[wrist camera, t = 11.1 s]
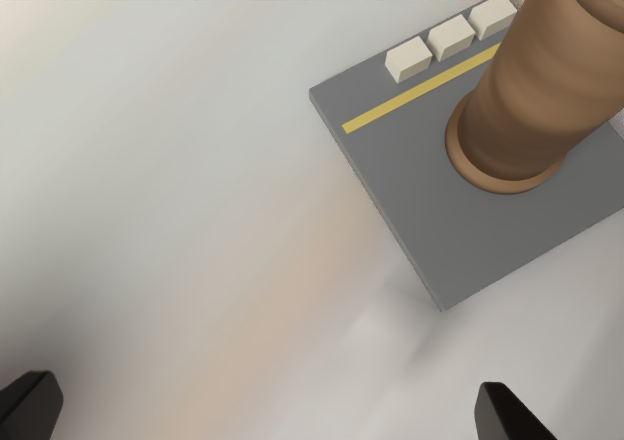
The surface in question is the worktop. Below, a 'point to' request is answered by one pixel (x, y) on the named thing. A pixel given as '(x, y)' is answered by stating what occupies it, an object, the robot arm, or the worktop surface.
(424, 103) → the panel
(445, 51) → the set of cream blocks
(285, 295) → the worktop surface
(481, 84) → the mill
